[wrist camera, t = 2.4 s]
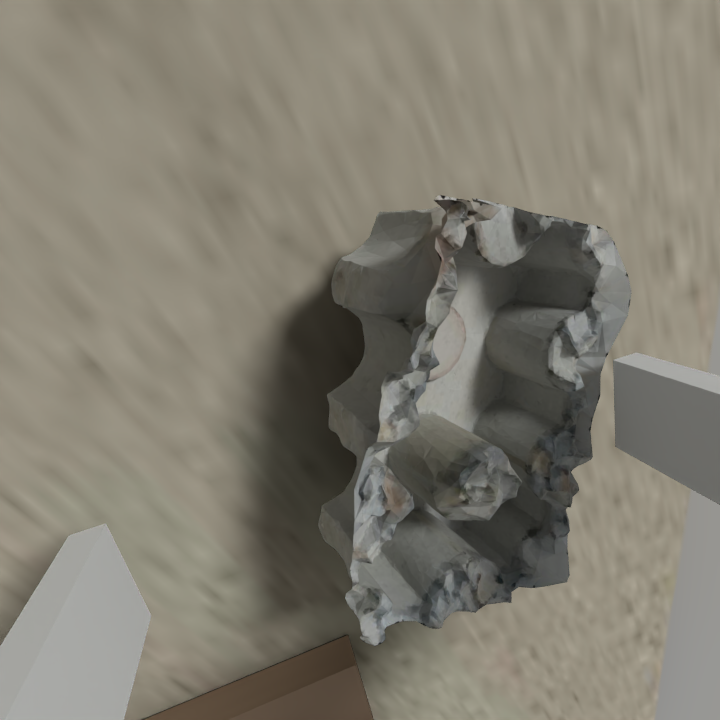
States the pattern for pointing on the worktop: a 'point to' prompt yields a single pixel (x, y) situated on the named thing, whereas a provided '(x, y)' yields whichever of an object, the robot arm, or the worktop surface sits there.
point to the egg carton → (467, 404)
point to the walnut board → (288, 691)
